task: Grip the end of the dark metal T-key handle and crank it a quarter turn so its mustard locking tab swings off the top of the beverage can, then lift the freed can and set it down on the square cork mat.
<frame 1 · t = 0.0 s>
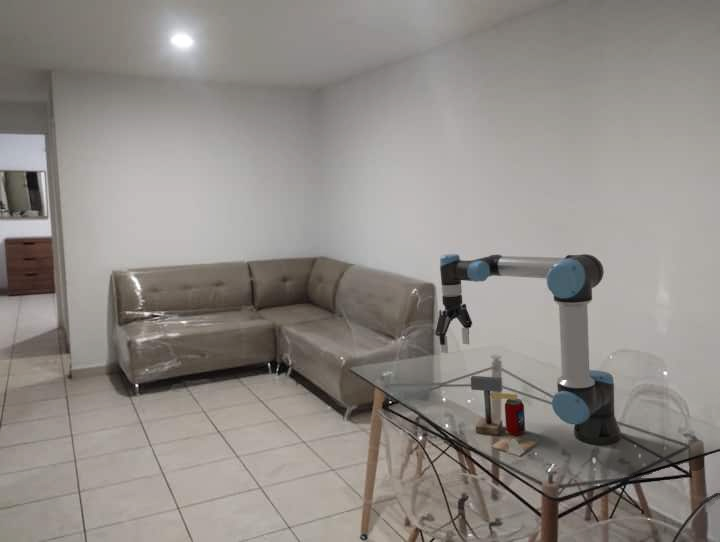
hand: (455, 348, 225), 28 cm above the table, fingers open, 13 cm apart
mat: (513, 446, 200), on the table
t key: (494, 400, 212), point 11 cm above the table, hinge at 0.0°
beverage can: (515, 432, 211), on the table
latch housing: (489, 429, 215), on the table
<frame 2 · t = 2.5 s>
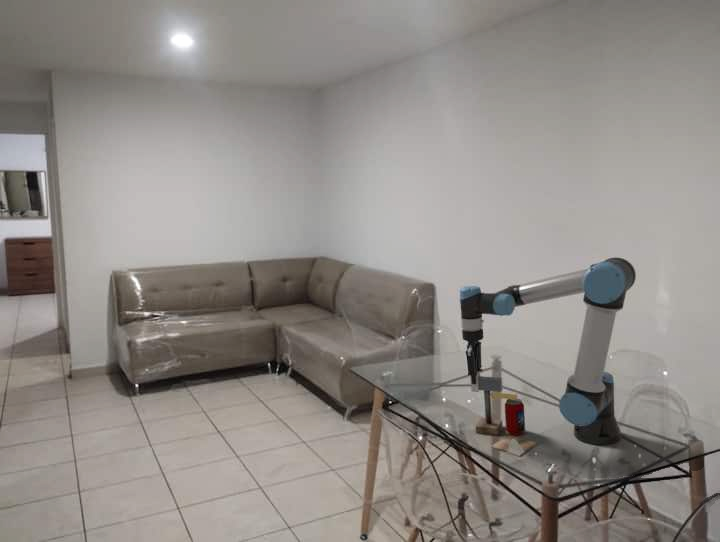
hand: (476, 390, 215), 15 cm above the table, fingers closed on t key, 2 cm apart
t key: (494, 400, 212), point 11 cm above the table, hinge at 0.0°, touching gripper
everything else where it was.
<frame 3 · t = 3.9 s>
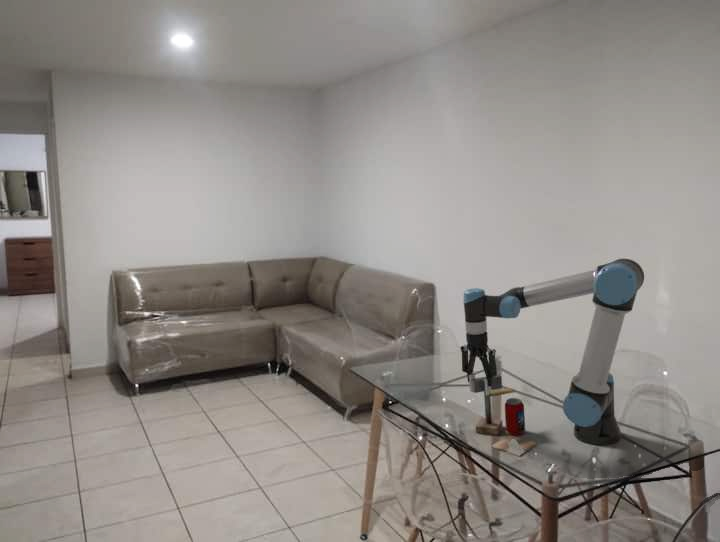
hand: (480, 392, 212), 15 cm above the table, fingers open, 6 cm apart
t key: (493, 399, 214), point 11 cm above the table, hinge at 39.7°, touching gripper
everything else where it was.
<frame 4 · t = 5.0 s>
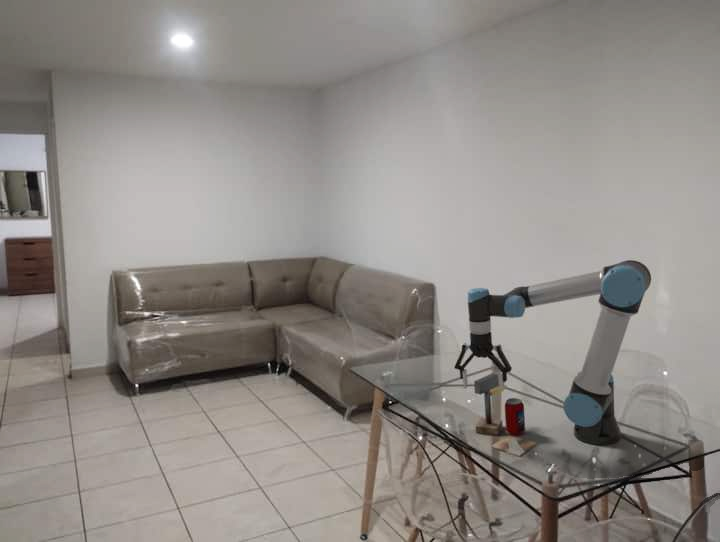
hand: (483, 388, 209), 17 cm above the table, fingers open, 13 cm apart
t key: (491, 398, 215), point 11 cm above the table, hinge at 66.3°
everything else where it was.
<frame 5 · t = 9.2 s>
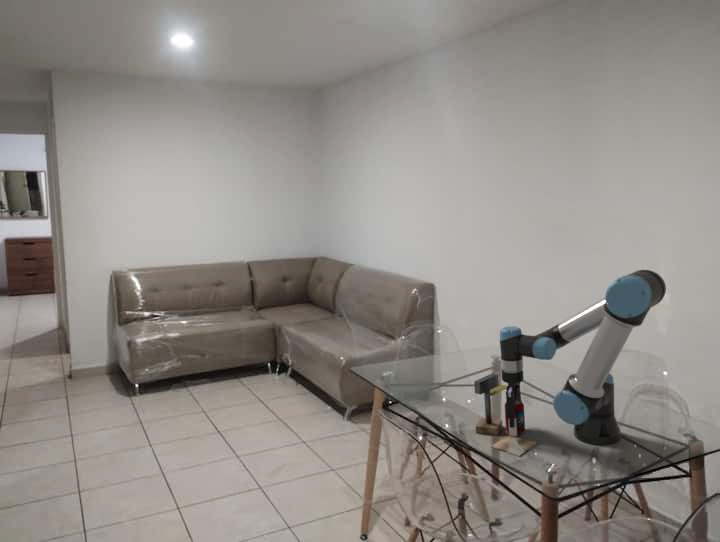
hand: (515, 430, 210), 1 cm above the table, fingers open, 7 cm apart
beverage can: (515, 432, 211), on the table, touching gripper
everything else where it was.
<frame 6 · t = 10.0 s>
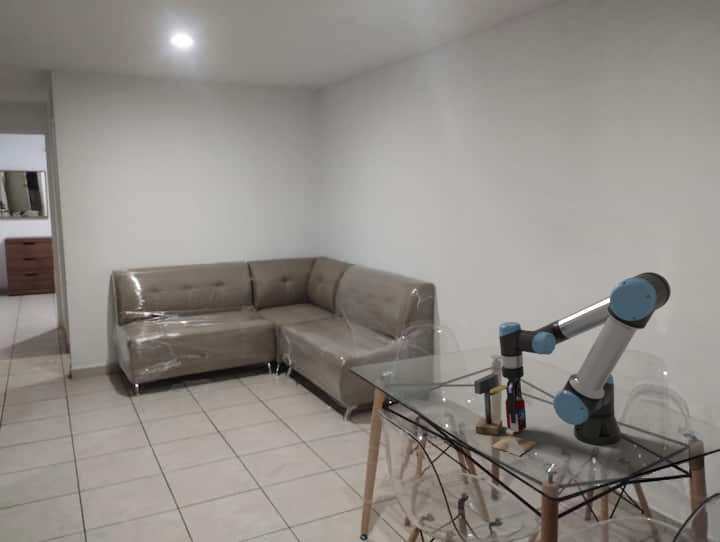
hand: (516, 426, 210), 2 cm above the table, fingers closed on beverage can, 7 cm apart
beverage can: (517, 429, 210), point 1 cm above the table, touching gripper
everything else where it was.
when the fingers open (2 cm above the table, at t = 14.8 s): beverage can stays where it is, resting on mat.
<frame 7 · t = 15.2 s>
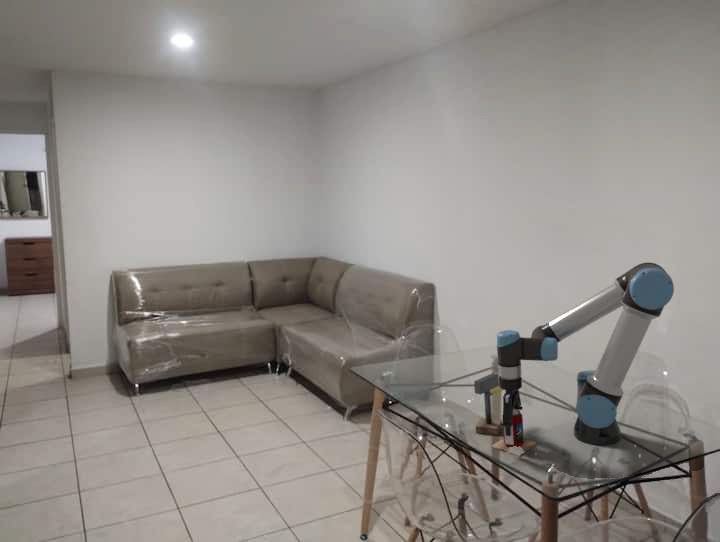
hand: (513, 435, 200), 4 cm above the table, fingers open, 13 cm apart
beverage can: (513, 445, 200), resting on mat
everything else where it was.
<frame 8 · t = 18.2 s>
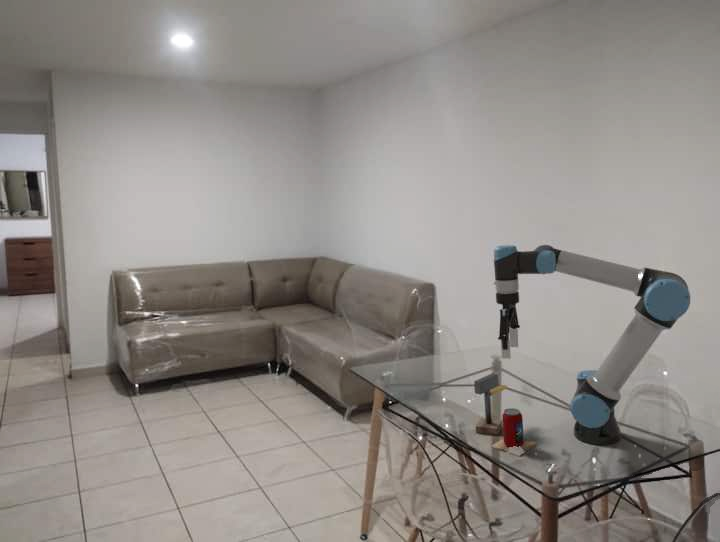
hand: (510, 352, 198), 33 cm above the table, fingers open, 13 cm apart
nothing on the table moved.
at the end: t key at +66° (first picture: +0°); beverage can 0.0 cm from the mat (horizontally); beverage can tilted 0° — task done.
